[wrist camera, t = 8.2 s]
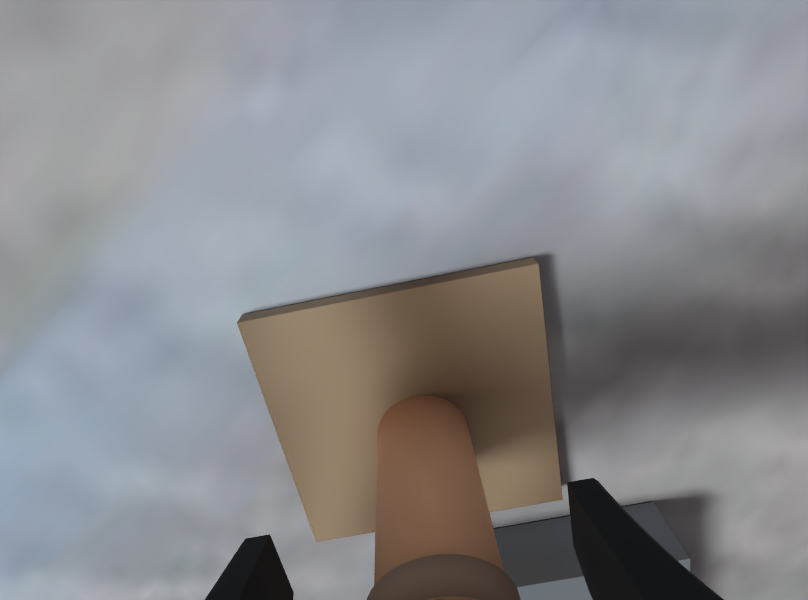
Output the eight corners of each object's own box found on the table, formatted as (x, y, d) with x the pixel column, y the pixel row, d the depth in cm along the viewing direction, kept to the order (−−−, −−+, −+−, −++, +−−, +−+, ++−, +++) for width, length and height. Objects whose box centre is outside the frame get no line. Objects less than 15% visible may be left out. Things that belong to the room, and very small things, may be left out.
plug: (384, 483, 18) (384, 712, 11) (360, 402, 16) (343, 607, 10) (481, 463, 17) (539, 685, 11) (464, 380, 16) (518, 574, 10)
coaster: (318, 529, 19) (316, 542, 19) (242, 314, 16) (236, 322, 15) (557, 487, 19) (562, 499, 18) (533, 257, 15) (538, 263, 15)
